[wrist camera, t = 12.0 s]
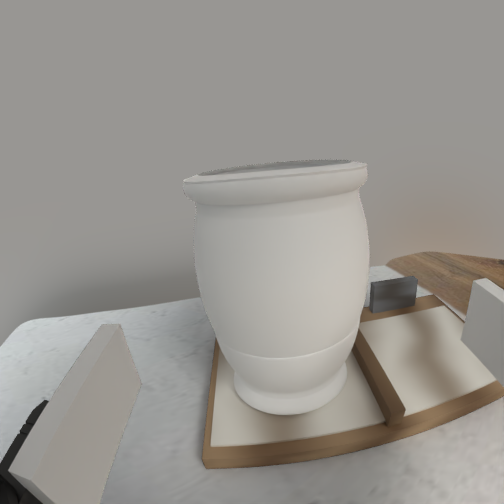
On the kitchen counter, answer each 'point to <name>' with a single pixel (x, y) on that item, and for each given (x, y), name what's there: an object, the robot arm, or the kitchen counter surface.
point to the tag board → (360, 388)
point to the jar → (283, 275)
